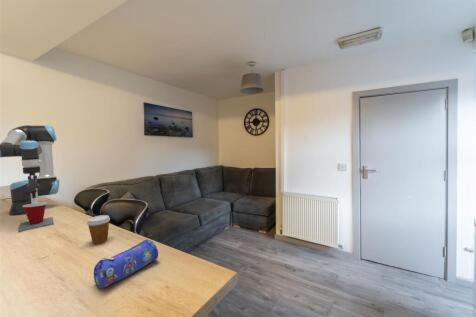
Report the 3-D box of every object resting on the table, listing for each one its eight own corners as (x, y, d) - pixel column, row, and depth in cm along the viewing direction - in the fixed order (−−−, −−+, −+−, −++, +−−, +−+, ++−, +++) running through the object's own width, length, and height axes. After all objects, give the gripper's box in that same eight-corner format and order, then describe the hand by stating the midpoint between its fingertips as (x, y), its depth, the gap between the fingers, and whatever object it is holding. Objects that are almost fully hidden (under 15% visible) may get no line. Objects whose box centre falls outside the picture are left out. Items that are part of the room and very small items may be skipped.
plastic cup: (53, 219, 133) (51, 201, 132) (35, 226, 122) (33, 206, 121) (38, 219, 134) (36, 201, 133) (19, 226, 123) (17, 206, 122)
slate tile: (20, 224, 128) (20, 223, 128) (52, 218, 139) (52, 216, 139) (18, 232, 118) (18, 230, 117) (53, 224, 128) (53, 222, 128)
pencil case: (102, 295, 66) (100, 266, 66) (90, 286, 71) (87, 259, 70) (161, 261, 85) (159, 238, 84) (148, 255, 89) (147, 234, 89)
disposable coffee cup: (100, 247, 98) (98, 222, 97) (83, 245, 100) (81, 221, 99) (115, 237, 107) (114, 215, 106) (100, 236, 109) (98, 214, 108)
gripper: (40, 167, 119) (43, 203, 121) (39, 164, 137) (43, 195, 139) (21, 169, 114) (25, 206, 116) (23, 165, 132) (27, 198, 134)
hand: (34, 201), depth 127 cm, fingers open, 13 cm apart
